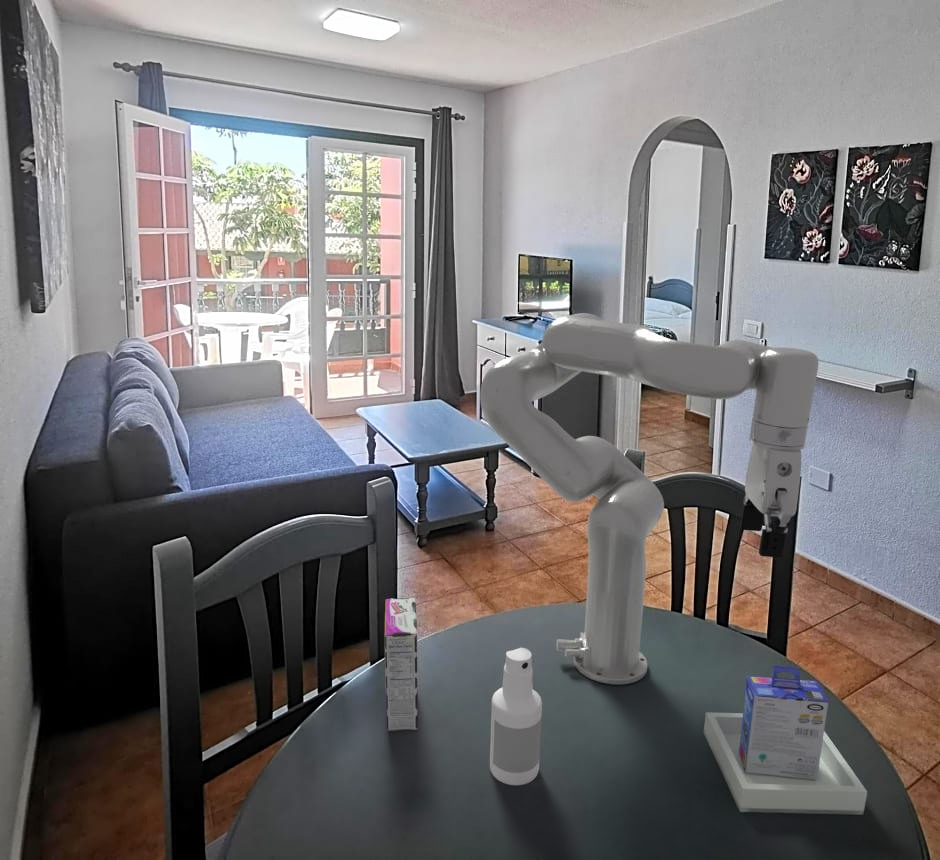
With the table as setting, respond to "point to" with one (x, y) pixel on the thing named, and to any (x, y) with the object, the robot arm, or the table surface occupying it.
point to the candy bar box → (401, 664)
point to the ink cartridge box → (783, 725)
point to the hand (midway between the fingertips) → (759, 542)
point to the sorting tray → (783, 777)
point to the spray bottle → (516, 722)
